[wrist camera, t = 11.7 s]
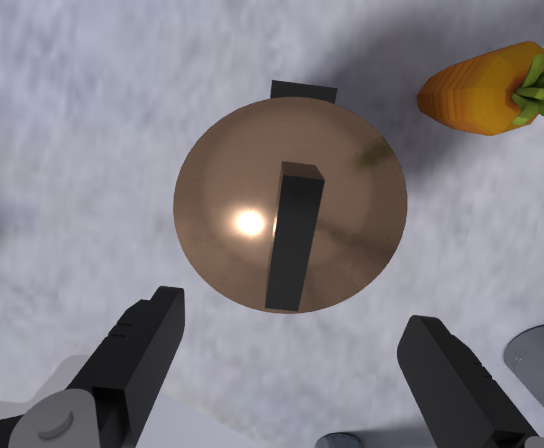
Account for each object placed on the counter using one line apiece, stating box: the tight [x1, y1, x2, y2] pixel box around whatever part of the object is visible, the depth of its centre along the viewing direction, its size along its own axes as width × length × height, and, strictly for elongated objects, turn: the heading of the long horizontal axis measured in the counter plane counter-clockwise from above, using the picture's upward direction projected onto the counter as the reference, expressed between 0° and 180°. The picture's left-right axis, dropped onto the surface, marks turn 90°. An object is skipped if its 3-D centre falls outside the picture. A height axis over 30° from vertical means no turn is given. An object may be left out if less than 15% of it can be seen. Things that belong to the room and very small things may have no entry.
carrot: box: [417, 41, 544, 136], centre depth 18 cm, size 5×5×15 cm
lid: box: [173, 97, 407, 314], centre depth 16 cm, size 15×15×5 cm
